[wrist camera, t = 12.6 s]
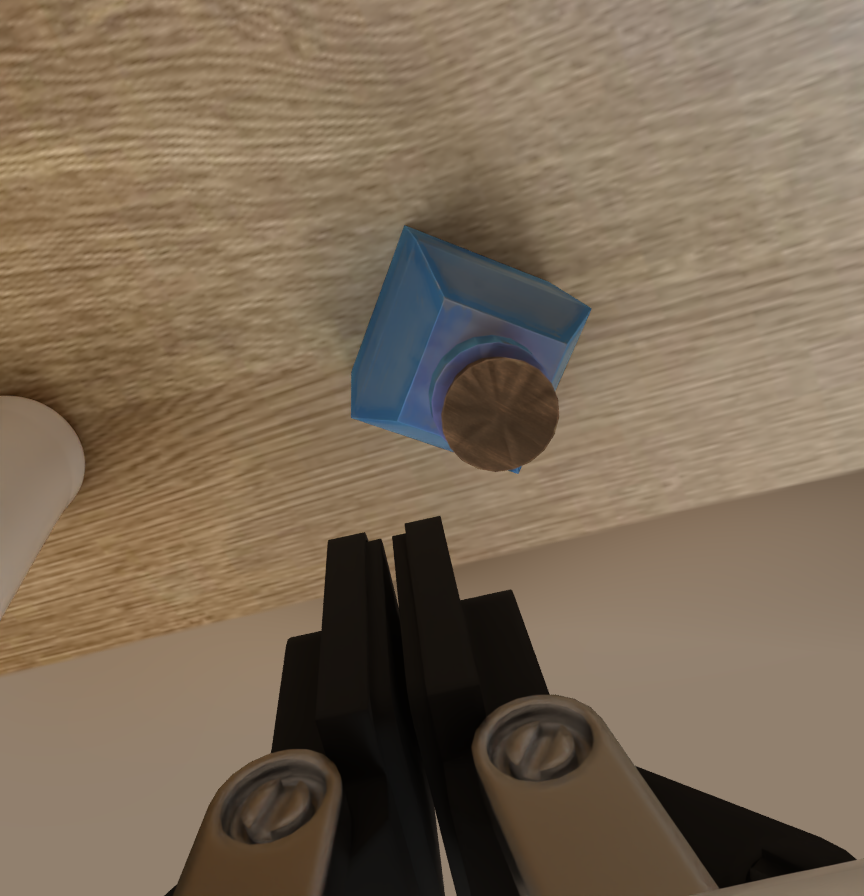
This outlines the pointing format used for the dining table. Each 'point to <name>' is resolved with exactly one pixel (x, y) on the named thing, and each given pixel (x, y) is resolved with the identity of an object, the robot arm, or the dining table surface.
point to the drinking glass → (32, 484)
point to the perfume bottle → (465, 354)
